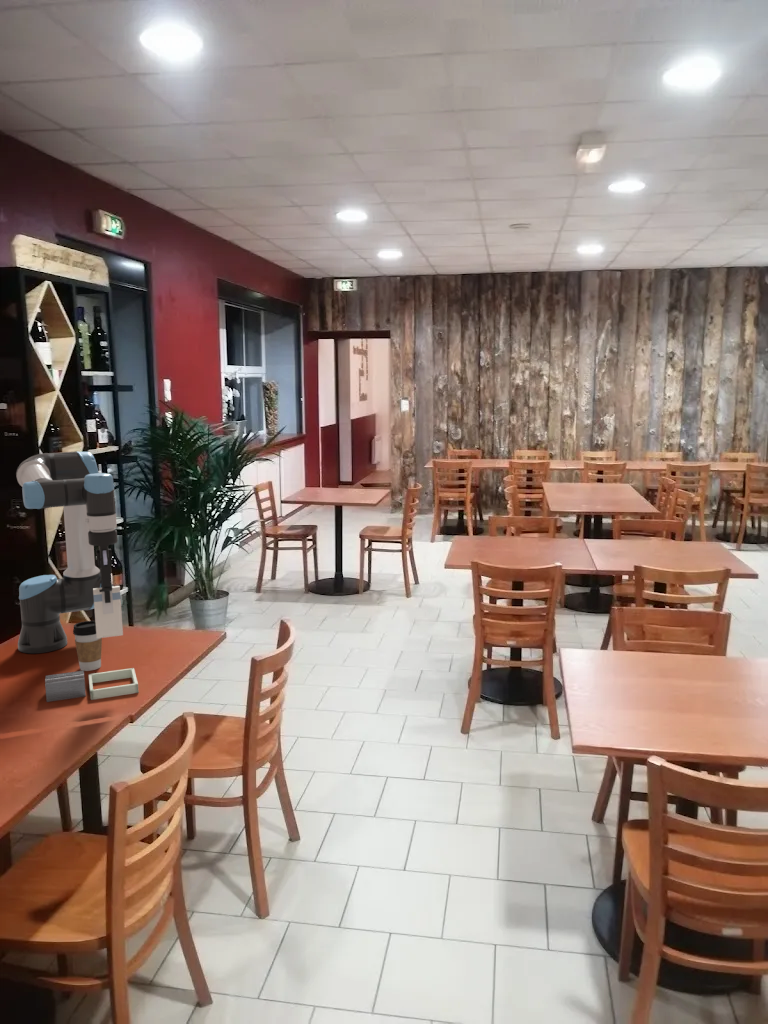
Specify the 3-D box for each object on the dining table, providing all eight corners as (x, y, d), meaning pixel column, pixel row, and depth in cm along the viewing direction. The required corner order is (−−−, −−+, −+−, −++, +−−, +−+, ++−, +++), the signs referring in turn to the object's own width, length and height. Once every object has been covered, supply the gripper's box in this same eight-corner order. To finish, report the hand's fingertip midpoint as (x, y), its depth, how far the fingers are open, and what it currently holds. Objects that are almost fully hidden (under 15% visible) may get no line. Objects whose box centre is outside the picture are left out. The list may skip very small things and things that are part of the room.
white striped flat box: (96, 636, 219) (92, 588, 217) (122, 633, 222) (119, 585, 220) (96, 638, 218) (93, 589, 216) (123, 635, 220) (119, 587, 218)
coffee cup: (95, 676, 234) (92, 628, 232) (70, 674, 236) (66, 626, 233) (110, 666, 242) (107, 619, 240) (86, 664, 244) (82, 618, 241)
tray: (89, 685, 227) (88, 674, 226) (134, 679, 231) (133, 667, 231) (91, 703, 214) (90, 691, 214) (138, 695, 219) (138, 684, 218)
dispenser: (47, 695, 219) (45, 673, 218) (85, 690, 223) (83, 668, 222) (46, 705, 213) (45, 682, 212) (86, 699, 217) (84, 676, 216)
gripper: (87, 526, 220) (93, 607, 224) (88, 535, 207) (95, 621, 211) (115, 524, 223) (120, 604, 227) (118, 533, 210) (124, 617, 213)
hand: (108, 612), depth 219 cm, fingers closed on white striped flat box, 2 cm apart
